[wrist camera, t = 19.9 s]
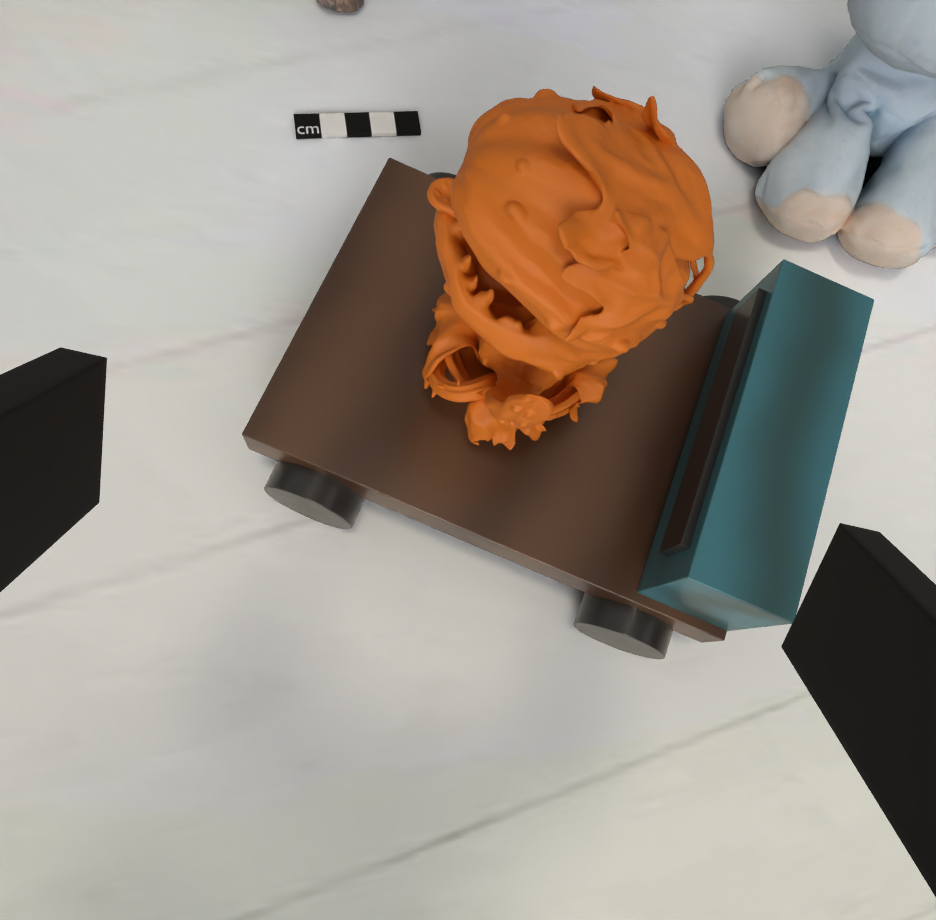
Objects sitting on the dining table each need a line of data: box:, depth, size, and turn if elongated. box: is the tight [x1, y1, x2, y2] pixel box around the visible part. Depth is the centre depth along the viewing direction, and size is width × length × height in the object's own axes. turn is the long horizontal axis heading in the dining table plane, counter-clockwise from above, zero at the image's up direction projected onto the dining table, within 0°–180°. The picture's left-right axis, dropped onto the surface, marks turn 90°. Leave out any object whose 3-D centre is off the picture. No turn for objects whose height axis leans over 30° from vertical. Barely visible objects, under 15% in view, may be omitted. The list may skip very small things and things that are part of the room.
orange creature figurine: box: [422, 86, 714, 450], centre depth 31 cm, size 11×11×18 cm
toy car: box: [242, 158, 874, 659], centre depth 40 cm, size 26×21×12 cm
